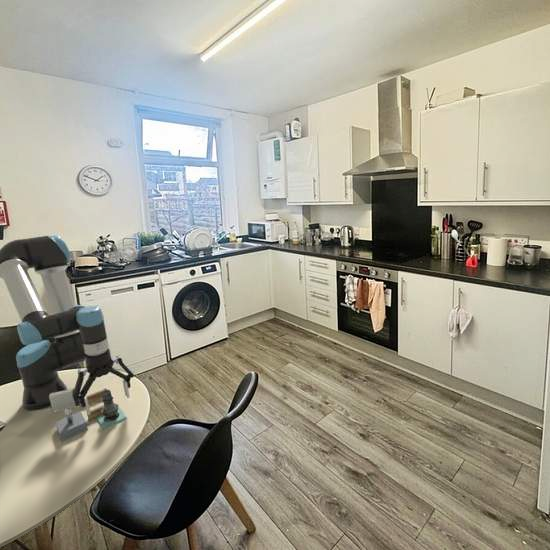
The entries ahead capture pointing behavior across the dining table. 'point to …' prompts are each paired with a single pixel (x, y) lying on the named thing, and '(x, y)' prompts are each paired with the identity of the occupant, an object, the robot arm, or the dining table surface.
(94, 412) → the block
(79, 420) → the block
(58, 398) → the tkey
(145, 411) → the dining table surface
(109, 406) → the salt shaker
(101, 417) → the coaster
